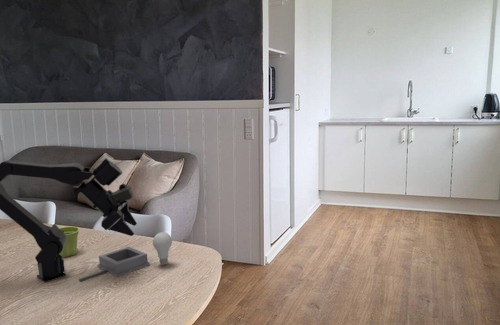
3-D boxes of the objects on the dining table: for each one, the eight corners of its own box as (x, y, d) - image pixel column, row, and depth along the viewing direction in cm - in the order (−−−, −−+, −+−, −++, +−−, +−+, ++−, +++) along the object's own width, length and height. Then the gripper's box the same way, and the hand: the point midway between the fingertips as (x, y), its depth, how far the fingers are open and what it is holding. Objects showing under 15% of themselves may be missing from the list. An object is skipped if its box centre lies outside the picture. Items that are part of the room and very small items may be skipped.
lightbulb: (163, 270, 137) (161, 237, 135) (150, 265, 141) (148, 233, 139) (177, 263, 142) (175, 231, 140) (164, 259, 146) (162, 228, 144)
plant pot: (86, 249, 158) (84, 226, 156) (73, 259, 148) (71, 235, 147) (62, 249, 159) (59, 226, 157) (47, 259, 149) (45, 234, 148)
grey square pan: (89, 287, 126) (88, 275, 126) (70, 276, 135) (69, 264, 134) (149, 265, 142) (149, 254, 141) (129, 256, 150) (129, 245, 149)
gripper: (112, 186, 125) (151, 222, 129) (121, 171, 143) (154, 204, 147) (84, 211, 125) (123, 247, 129) (96, 194, 143) (130, 225, 147)
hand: (134, 229), depth 138 cm, fingers open, 9 cm apart
